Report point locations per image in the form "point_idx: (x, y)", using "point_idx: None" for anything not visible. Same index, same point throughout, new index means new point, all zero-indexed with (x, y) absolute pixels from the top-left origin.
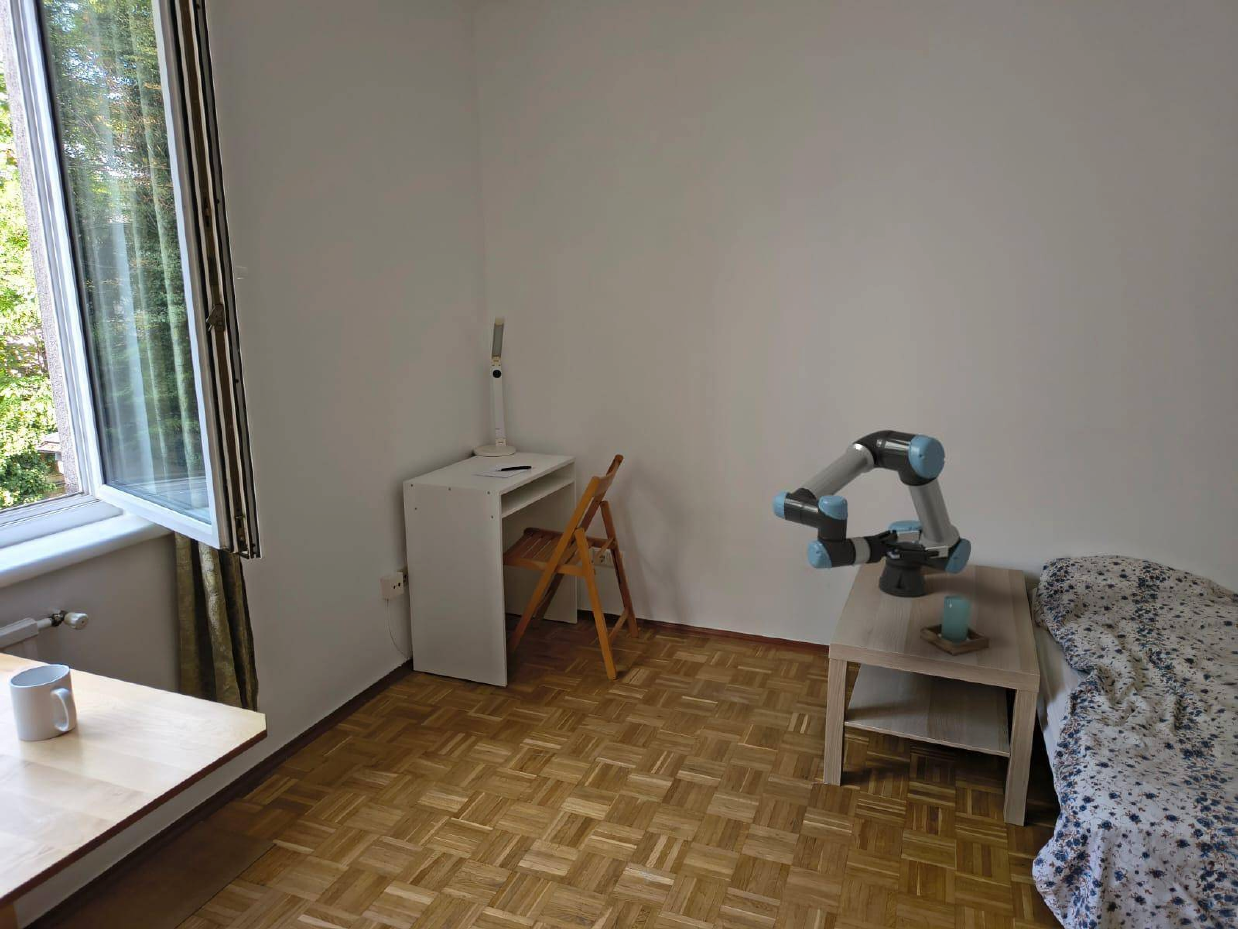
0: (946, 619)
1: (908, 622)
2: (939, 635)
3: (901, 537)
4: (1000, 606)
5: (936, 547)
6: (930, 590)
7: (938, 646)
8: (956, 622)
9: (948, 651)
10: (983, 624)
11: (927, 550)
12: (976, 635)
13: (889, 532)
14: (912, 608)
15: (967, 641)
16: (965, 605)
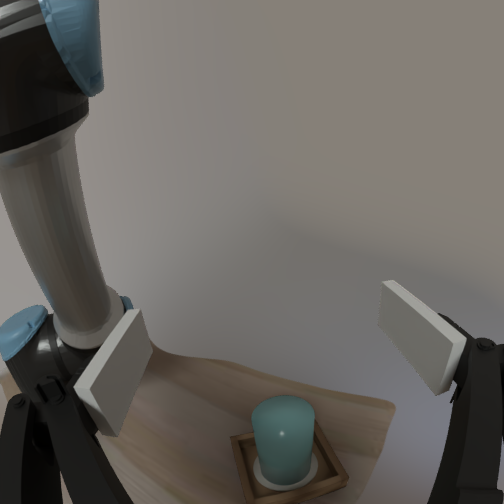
0: (293, 461)
1: (174, 497)
2: (263, 481)
3: (110, 398)
4: (184, 362)
5: (420, 306)
6: None
7: (305, 499)
8: (311, 448)
9: (333, 489)
10: (227, 402)
11: (479, 340)
12: None
13: (29, 413)
14: (127, 455)
15: (327, 451)
16: (313, 410)
